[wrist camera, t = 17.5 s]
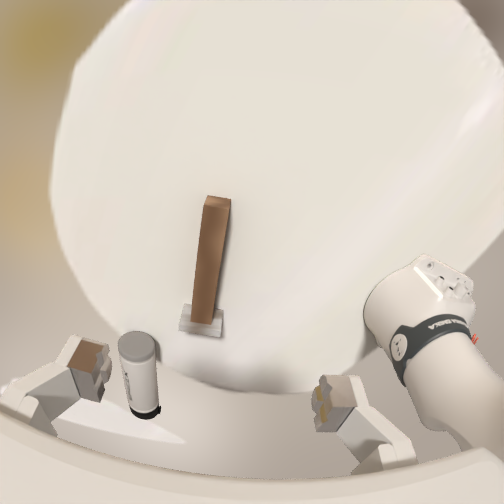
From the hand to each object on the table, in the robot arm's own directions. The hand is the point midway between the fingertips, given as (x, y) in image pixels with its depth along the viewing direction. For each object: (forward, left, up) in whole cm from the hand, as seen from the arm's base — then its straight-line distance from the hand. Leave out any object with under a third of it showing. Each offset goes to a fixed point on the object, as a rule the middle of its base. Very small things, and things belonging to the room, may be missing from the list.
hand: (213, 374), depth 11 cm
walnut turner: (+2, +12, -30) cm, 33 cm away
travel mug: (+12, +28, -27) cm, 41 cm away
